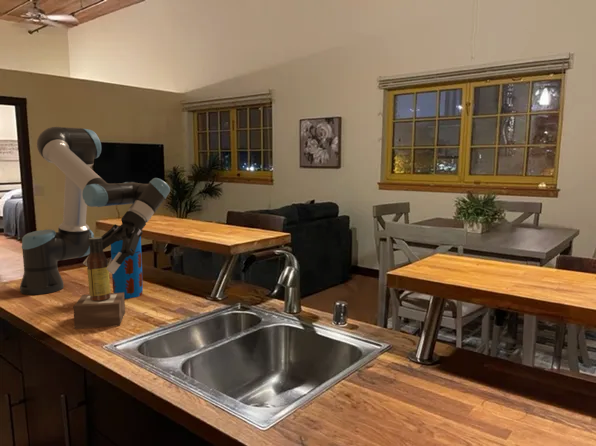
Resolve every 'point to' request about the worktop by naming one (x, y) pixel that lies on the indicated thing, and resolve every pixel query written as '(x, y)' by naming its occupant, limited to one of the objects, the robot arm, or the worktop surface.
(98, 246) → the sauce bottle
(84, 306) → the block
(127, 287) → the thermos
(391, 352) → the worktop surface
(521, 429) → the worktop surface
